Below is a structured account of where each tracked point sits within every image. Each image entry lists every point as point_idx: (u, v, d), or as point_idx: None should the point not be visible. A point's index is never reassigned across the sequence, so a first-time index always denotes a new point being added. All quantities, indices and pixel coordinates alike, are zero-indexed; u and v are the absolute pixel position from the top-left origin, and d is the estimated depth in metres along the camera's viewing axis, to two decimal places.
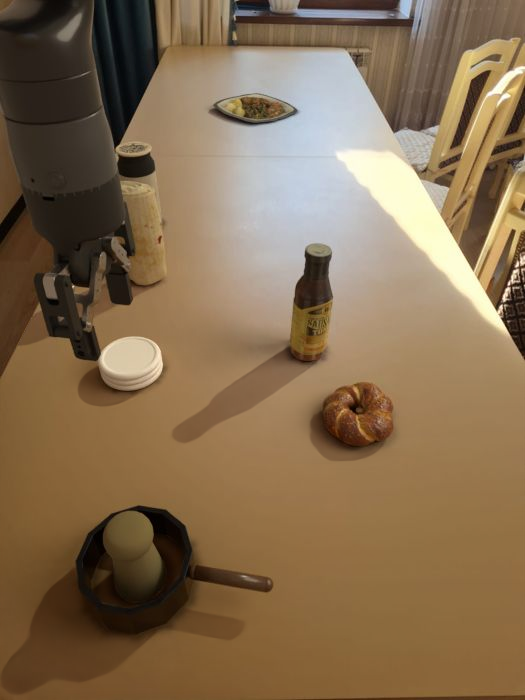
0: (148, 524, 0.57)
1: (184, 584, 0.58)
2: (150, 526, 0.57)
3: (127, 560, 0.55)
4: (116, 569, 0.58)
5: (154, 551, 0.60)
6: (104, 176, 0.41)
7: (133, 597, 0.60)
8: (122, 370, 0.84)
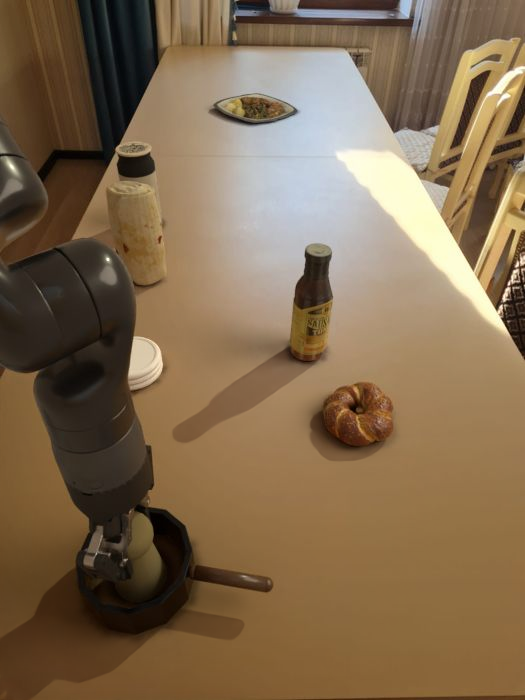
0: (148, 524, 0.57)
1: (184, 584, 0.58)
2: (150, 526, 0.57)
3: None
4: None
5: (154, 551, 0.60)
6: (135, 469, 0.46)
7: (133, 597, 0.60)
8: None
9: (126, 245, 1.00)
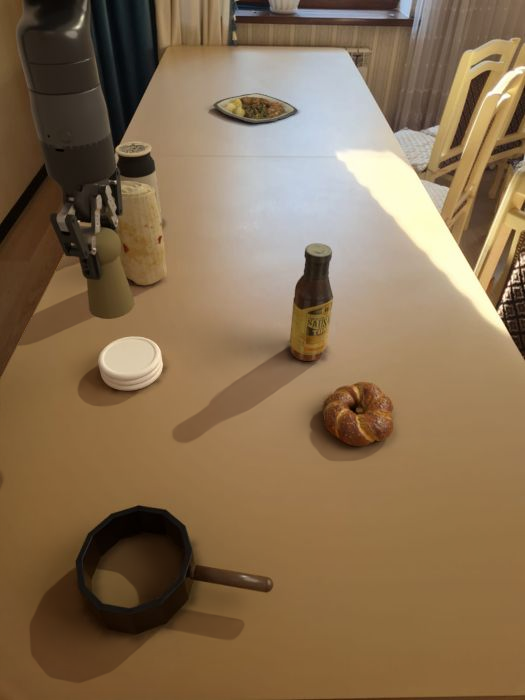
0: (116, 234, 0.67)
1: (184, 584, 0.58)
2: (118, 237, 0.67)
3: None
4: (89, 280, 0.68)
5: (122, 269, 0.69)
6: (100, 135, 0.56)
7: (104, 312, 0.70)
8: (122, 370, 0.84)
9: (126, 245, 1.00)
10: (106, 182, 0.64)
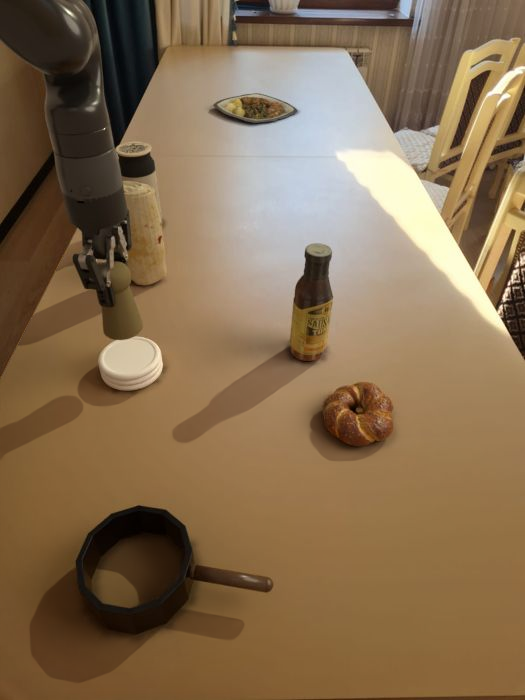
0: (127, 267, 0.77)
1: (184, 584, 0.58)
2: (128, 269, 0.77)
3: None
4: (103, 307, 0.78)
5: (132, 297, 0.79)
6: (114, 188, 0.66)
7: (116, 334, 0.80)
8: (122, 370, 0.84)
9: None
10: (118, 223, 0.74)
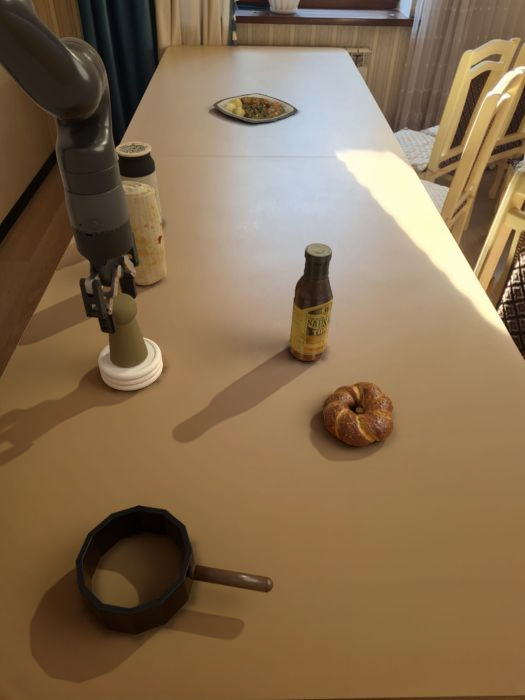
0: (133, 300, 0.80)
1: (184, 584, 0.58)
2: (134, 302, 0.80)
3: (118, 321, 0.79)
4: (111, 336, 0.82)
5: (138, 326, 0.83)
6: (121, 221, 0.69)
7: (123, 362, 0.84)
8: (122, 370, 0.84)
9: None
10: None
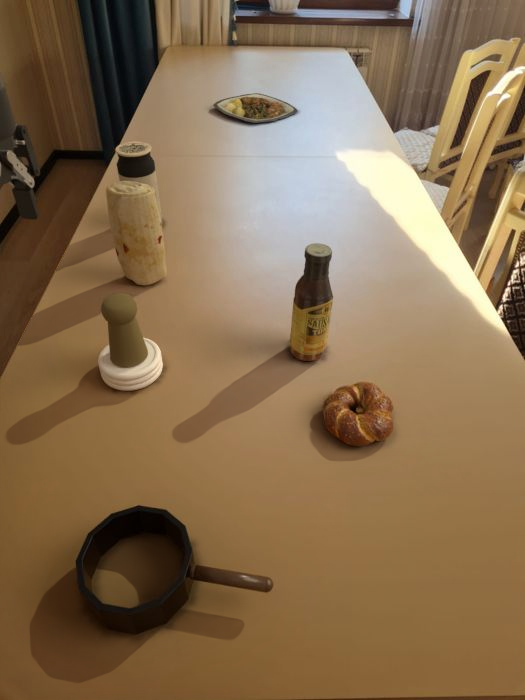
0: (133, 300, 0.80)
1: (184, 584, 0.58)
2: (134, 301, 0.80)
3: (118, 321, 0.79)
4: (110, 336, 0.82)
5: (138, 326, 0.83)
6: None
7: (123, 362, 0.84)
8: (122, 370, 0.84)
9: (126, 245, 1.00)
10: (11, 147, 0.58)
